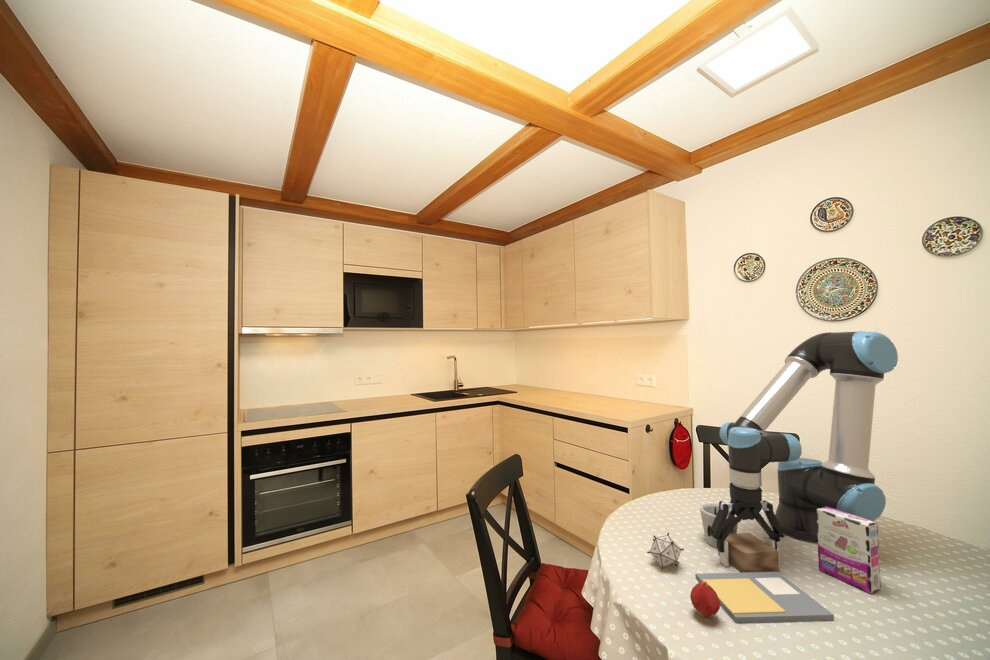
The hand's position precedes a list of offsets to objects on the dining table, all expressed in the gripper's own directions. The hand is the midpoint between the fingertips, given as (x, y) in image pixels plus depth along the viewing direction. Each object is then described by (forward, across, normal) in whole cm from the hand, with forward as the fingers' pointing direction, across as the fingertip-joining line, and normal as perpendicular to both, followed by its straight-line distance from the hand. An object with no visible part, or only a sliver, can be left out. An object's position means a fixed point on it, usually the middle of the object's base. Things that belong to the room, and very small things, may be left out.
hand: (747, 563), depth 106 cm
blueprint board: (0, +7, +14) cm, 16 cm away
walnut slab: (0, 0, 0) cm, 0 cm away
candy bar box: (0, -21, +8) cm, 23 cm away
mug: (0, 0, -13) cm, 13 cm away
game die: (0, +23, 0) cm, 23 cm away
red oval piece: (0, +24, +20) cm, 31 cm away
